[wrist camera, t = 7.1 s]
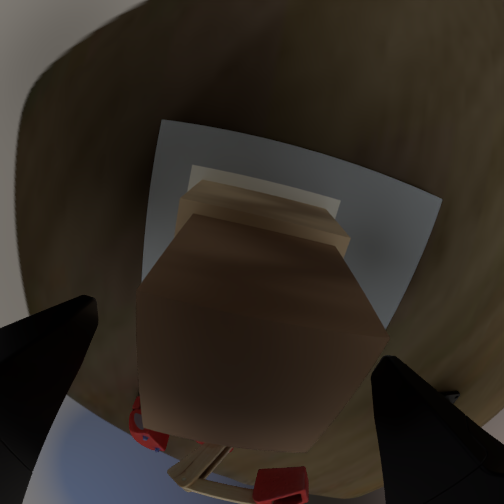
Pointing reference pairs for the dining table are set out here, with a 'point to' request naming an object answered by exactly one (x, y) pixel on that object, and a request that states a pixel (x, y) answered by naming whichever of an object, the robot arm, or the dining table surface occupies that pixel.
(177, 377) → the walnut cube
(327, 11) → the dining table surface
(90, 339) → the robot arm
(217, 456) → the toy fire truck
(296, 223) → the oak base block
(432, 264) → the dining table surface
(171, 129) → the plate
